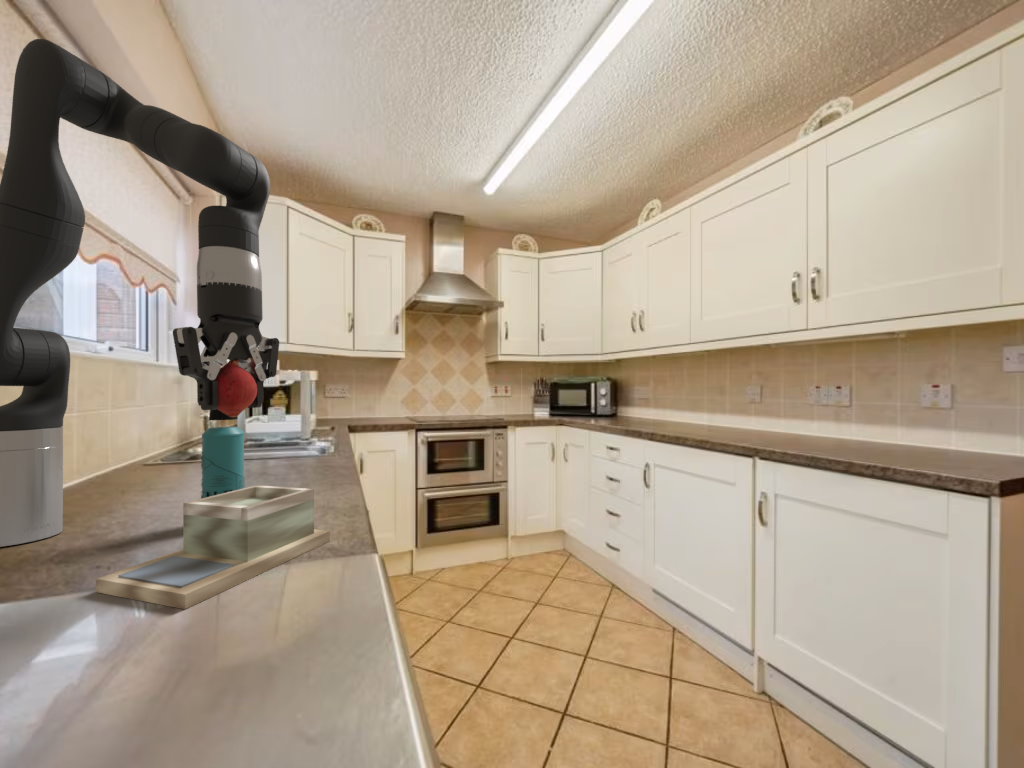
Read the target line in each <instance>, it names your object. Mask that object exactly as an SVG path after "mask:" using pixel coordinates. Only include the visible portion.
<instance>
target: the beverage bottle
mask: <svg viewBox="0 0 1024 768" xmlns="http://www.w3.org/2000/svg"><path fill="white" fill-rule="evenodd" d="M238 417H239V416H237V417H229V416H228V415H226V414H224V413H222V412H221V411H219V410H218V409H216V410H209V418H208V421H231V420H238ZM201 440H202V442H201V443H202V447H201V448H200V450H201V451H200V452H201V457H200V463H201V467H200V469H201V479H200V484H201V491H200V499H202V498H206V497H210V496H214V495H218V494H223V493H227V492H231V491H235V490H239V489H243V488H245V431H244V430H242V429H241V428H240V427H238V426H215V427H208V428H207V429H206V430H204V431H203V433H202V434H201Z"/></svg>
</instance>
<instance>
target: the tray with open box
mask: <svg viewBox="0 0 1024 768" xmlns="http://www.w3.org/2000/svg"><path fill="white" fill-rule="evenodd" d="M182 505H183V506H182V507H183V510H182V511H183V512H182V515H183V525H182V527H183V529H182V530H183V531H182V533H183V536H182V537H183V541H182V542H183V543H182V545H183V547H182V548H183V549H180V550H176V551H173V552H171V553H167V554H165V555H162V556H159V557H156V558H153V559H150V560H147V561H144V562H141V563H139V564H135V565H132V566H130V567H126V568H124V569H120V570H117V571H115V572H111V573H109V574H107V575H106V574H105V575H103V576H101V577H98V578H96V579H95V593H99V594H104V595H109V596H115V597H120V598H125V599H131V600H135V601H141V602H145V603H151V604H157V605H162V606H167V607H172V608H177V609H181V610H187V609H189V608H191V607H194V606H195V605H197V604H199V603H201V602H203V601H206V600H208V599H210V598H212V597H214V596H217V595H218V594H222V593H223V592H225V591H227V590H230V589H231V588H234V587H235V586H238V585H239V584H242V583H244V582H246V581H248V580H250V579H253V578H254V577H256V576H258V575H261V574H263V573H266V572H267V571H269V570H272V569H273V568H275V567H277V566H280V565H282V564H284V563H286V562H289V561H290V560H292V559H294V558H296V557H299V556H301V555H303V554H305V553H308V552H309V551H312V550H314V549H316V548H318V547H320V546H322V545H325V544H326V543H329V542H330V540H331V538H330V536H331V531H330V530H326V529H324V530H323V529H315V489H314V488H305V487H302V488H301V487H289V486H271V485H258V484H257V485H256V484H255V485H251V486H248V487H244V488H243V489H239V490H235V491H231V492H227V493H223V494H218V495H214V496H210V497H206V498H202V499H201V498H199V499H193V500H191V501H190V500H189V501H185V502H183V504H182Z"/></svg>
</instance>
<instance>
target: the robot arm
mask: <svg viewBox="0 0 1024 768" xmlns="http://www.w3.org/2000/svg"><path fill="white" fill-rule="evenodd" d="M17 60H18V61H17V64H16V68H15V73H14V81H13V83H14V84H13V92H12V93H13V94H12V104H11V105H12V107H11V114H10V115H11V116H10V129H9V130H10V131H9V139H8V145H7V151H6V158H5V162H4V165H3V172H2V176H1V180H0V387H22V390H21V393H20V395H19V397H17V398H15V399H14V400H13V401H11V402H8V403H6V404H3V405H0V548H1V547H7V546H9V547H10V546H13V545H14V546H15V545H20V544H26V543H31V542H36V541H40V540H43V539H47V538H50V537H54V536H56V535H58V534H61V532H63V525H64V524H63V523H64V522H63V516H64V515H63V509H64V508H63V507H64V498H63V497H64V417H65V413H66V411H67V408H68V403H69V402H68V400H69V386H70V385H69V381H70V373H71V353H70V351H71V350H70V349H69V348H70V347H69V345H68V342H67V341H66V339H65V338H64V337H63V336H62V335H61V334H60V333H57V332H55V331H49V330H41V329H34V328H33V329H31V328H24V327H14V325H15V323H16V320H17V318H18V316H19V313H20V312H21V310H22V307H23V306H24V305H25V303H26V302H27V300H28V299H29V298H30V297H31V296H32V295H33V293H34V292H36V291H37V290H38V289H40V288H41V287H43V285H45V284H46V283H48V282H49V281H51V280H52V279H53V278H55V277H56V276H57V275H59V274H60V273H61V272H63V271H64V270H65V269H67V267H69V266H70V265H71V264H72V263H73V262H74V261H75V259H76V257H77V256H78V253H79V250H80V246H81V241H82V238H83V237H82V236H83V232H84V230H85V229H84V227H85V222H86V213H85V210H84V209H85V208H84V206H83V203H82V201H81V197H80V195H79V193H78V191H77V188H76V187H75V185H74V182H73V180H72V179H71V176H70V174H69V173H68V170H67V168H66V165H65V163H64V160H63V157H62V153H61V151H60V150H61V149H60V141H59V140H60V139H59V137H60V136H59V134H60V133H59V132H60V131H59V130H60V121H61V119H62V120H65V121H66V122H68V123H70V124H73V125H75V126H76V127H78V128H81V129H83V130H84V131H85V130H86V131H88V132H91V133H94V134H97V135H101V136H106V137H109V138H112V139H117V140H119V141H123V142H126V143H129V144H131V145H134V146H135V147H136V148H137V149H139V150H140V151H141V152H142V153H144V154H145V155H147V156H148V157H150V158H152V159H153V160H155V161H157V162H159V163H162V164H163V165H164V166H167V167H169V168H171V169H173V170H175V171H177V172H180V173H181V174H183V175H185V176H186V177H188V178H189V179H191V180H193V181H195V182H197V183H199V185H203V186H204V187H206V188H208V189H210V190H212V191H214V192H216V193H218V194H220V195H221V196H224V197H225V200H226V204H225V205H209V206H206V207H204V208H203V209H201V210H200V212H199V214H198V225H197V226H198V227H197V228H198V234H197V235H198V255H197V256H198V257H197V262H196V306H197V307H196V308H197V309H196V313H197V315H196V316H197V317H198V319H199V320H200V322H199V324H198V326H197V328H196V327H193V326H184V327H176V328H174V329H173V331H172V336H173V343H174V348H175V355H176V360H177V361H176V362H177V365H178V366H177V367H178V373H179V374H180V375H181V376H186V377H187V376H188V377H190V378H193V379H194V380H195V381H196V386H197V387H196V390H197V391H196V393H197V398H196V399H197V400H196V401H197V403H198V406H200V408H201V410H202V411H210V410H216V409H217V408H218V381H214V379H215V378H216V377H217V374H218V372H219V370H220V368H222V367H223V366H225V365H226V364H227V363H226V362H227V360H228V361H230V360H232V359H236V360H238V361H239V363H238V365H239V367H241V368H243V369H245V370H246V371H247V372H249V373H250V374H251V375H252V377H253V378H254V380H255V382H256V384H257V395H256V398H255V400H254V401H253V403H252V404H251V405H249V406H248V407H247V409H254V408H261V407H262V405H263V404H264V400H265V399H264V398H265V397H264V394H265V393H264V392H265V391H264V386H265V385H264V382H265V380H267V379H270V378H275V377H276V376H277V367H278V359H279V358H278V357H279V349H280V340H279V338H277V337H271V338H269V337H265V336H263V335H262V332H261V331H260V324H261V322H263V318H264V317H263V279H262V278H263V276H262V268H261V267H262V266H261V263H260V262H261V261H260V235H259V233H260V232H259V230H260V228H261V223H262V221H263V217H264V215H265V211H266V207H267V204H268V201H269V198H270V192H271V178H270V176H269V172H268V170H267V168H266V167H265V165H264V163H263V162H262V161H261V160H260V159H258V157H256V156H254V155H253V154H251V153H250V152H249V151H247V150H245V149H244V148H242V147H241V146H239V145H238V144H236V143H234V141H232V140H231V139H229V138H227V137H226V136H224V135H222V134H221V133H219V132H217V131H215V130H213V129H211V128H209V127H207V126H204V125H201V124H197V123H193V122H190V121H189V120H187V119H185V118H182V117H181V116H179V115H176V114H175V113H172V112H171V111H168V110H166V109H163V108H161V107H157V106H155V105H150V104H149V105H148V104H144V103H142V102H140V101H139V100H138V99H137V98H135V97H134V96H133V95H131V93H129V92H128V91H126V89H124V88H123V87H121V86H120V85H119V84H118V83H116V82H115V81H114V80H113V79H112V78H111V77H109V76H108V74H105V73H104V72H102V71H101V70H99V69H98V68H96V67H94V66H93V65H91V64H89V63H88V62H87V61H85V60H84V59H81V58H80V57H78V56H77V55H75V54H73V53H72V52H70V51H68V50H67V49H65V48H63V47H62V46H61V45H59V44H57V43H55V42H52V41H51V40H49V39H46V38H36V39H33V40H31V41H29V42H28V43H27V44H26V45H25V46H24V48H23V49H22V52H20V55H19V57H18V59H17ZM200 342H202V344H203V346H204V347H203V349H202V351H201V353H200V347H199V344H200Z"/></svg>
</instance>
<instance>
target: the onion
mask: <svg viewBox="0 0 1024 768" xmlns="http://www.w3.org/2000/svg"><path fill="white" fill-rule="evenodd" d="M238 363H239V361H238V360H236V359H232V360H228V361H227V363H225V364H224V365H222V366H221V368H220V370H219V372H218V374H217V377H216V378H215V379H214V381H218V408H217V409H218V410H219V411H221V412H222V413H224V414H226V415H228V416H229V417H239V416H240V414H241V413H242V412H244V411H245V410H246V409H248V406H249V405H251V404H252V403H253V401H254V400H255V398H256V395H257V384H256V382H255V380H254V378H253V377H252V375H251V374H250V373H249V372H247V371H246V370H245V369H243V368H241V367H239V365H238Z"/></svg>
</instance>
